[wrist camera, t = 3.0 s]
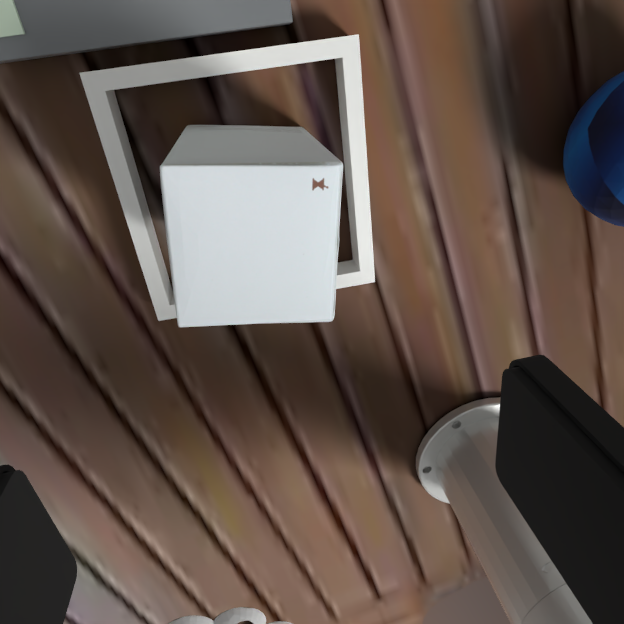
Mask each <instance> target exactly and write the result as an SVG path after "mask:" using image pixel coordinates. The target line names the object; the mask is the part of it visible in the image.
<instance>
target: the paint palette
mask: <svg viewBox="0 0 624 624" xmlns="http://www.w3.org/2000/svg"><path fill="white" fill-rule="evenodd" d="M241 621H251V622H252V623H254V624H265V623H266V617H265V615H264V614H263V613H262V612H261V611H259V610H257V609H254V608H245V607H239V608H234V609H230V610H227V611H225V612H223V613H221V614H220V615H219V616H218V617H216V618H215V620H214V621H213V620H211V619H210V618H207V617H204V616H185V617H181V618H179V619H176V620H174V621H172V622H170V623H169V624H237V623H239V622H241ZM268 624H292V623H290V622H272V623H268Z"/></svg>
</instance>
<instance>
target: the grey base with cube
mask: <svg viewBox="0 0 624 624" xmlns="http://www.w3.org/2000/svg"><path fill="white" fill-rule="evenodd" d="M292 22H293V19H292V11H291V3H290V0H0V64H1V63H8V62H16V61H23V60H31V59H38V58H45V57H53V56H60V55H68V54H75V53H83V52H90V51H98V50H105V49H112V48H120V47H127V46H135V45H142V44H150V43H157V42H165V41H172V40H179V39H187V38H194V37H202V36H209V35H217V34H224V33H232V32H239V31H246V30H254V29H261V28H269V27H276V26H284V25H289V24H291V23H292Z"/></svg>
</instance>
